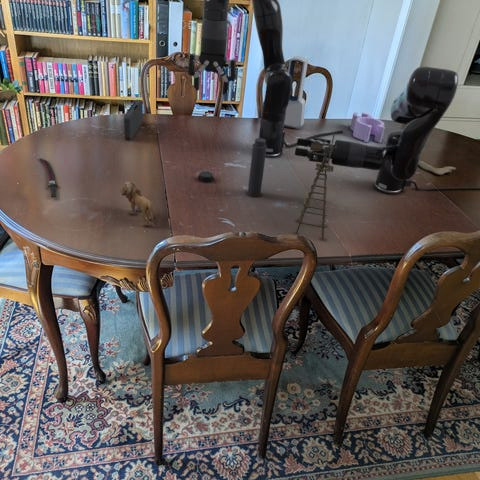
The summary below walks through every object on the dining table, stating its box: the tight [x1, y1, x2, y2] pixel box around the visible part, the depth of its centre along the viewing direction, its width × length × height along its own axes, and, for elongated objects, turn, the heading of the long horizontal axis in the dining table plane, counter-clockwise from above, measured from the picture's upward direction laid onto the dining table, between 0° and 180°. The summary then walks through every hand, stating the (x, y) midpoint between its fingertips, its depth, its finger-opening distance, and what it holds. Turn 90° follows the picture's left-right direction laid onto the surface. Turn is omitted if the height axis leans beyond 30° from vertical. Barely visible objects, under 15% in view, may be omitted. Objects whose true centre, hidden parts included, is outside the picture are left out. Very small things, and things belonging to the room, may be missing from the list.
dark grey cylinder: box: [247, 137, 267, 198], centre depth 150 cm, size 4×4×19 cm
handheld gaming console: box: [123, 99, 144, 141], centre depth 190 cm, size 23×3×10 cm, turn 178°
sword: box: [40, 158, 59, 198], centre depth 151 cm, size 31×3×1 cm, turn 26°
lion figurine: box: [119, 181, 159, 227], centre depth 134 cm, size 15×5×9 cm, turn 50°
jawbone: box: [418, 160, 457, 176], centre depth 188 cm, size 9×20×2 cm, turn 50°
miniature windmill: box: [294, 133, 335, 240], centre depth 130 cm, size 9×8×30 cm
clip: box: [349, 112, 386, 143], centre depth 214 cm, size 20×12×7 cm, turn 11°
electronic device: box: [284, 55, 309, 130], centre depth 208 cm, size 12×8×30 cm, turn 71°
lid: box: [198, 170, 214, 183], centre depth 160 cm, size 5×5×2 cm
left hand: (210, 91), depth 145 cm, fingers open, 8 cm apart
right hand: (296, 146), depth 144 cm, fingers open, 8 cm apart
